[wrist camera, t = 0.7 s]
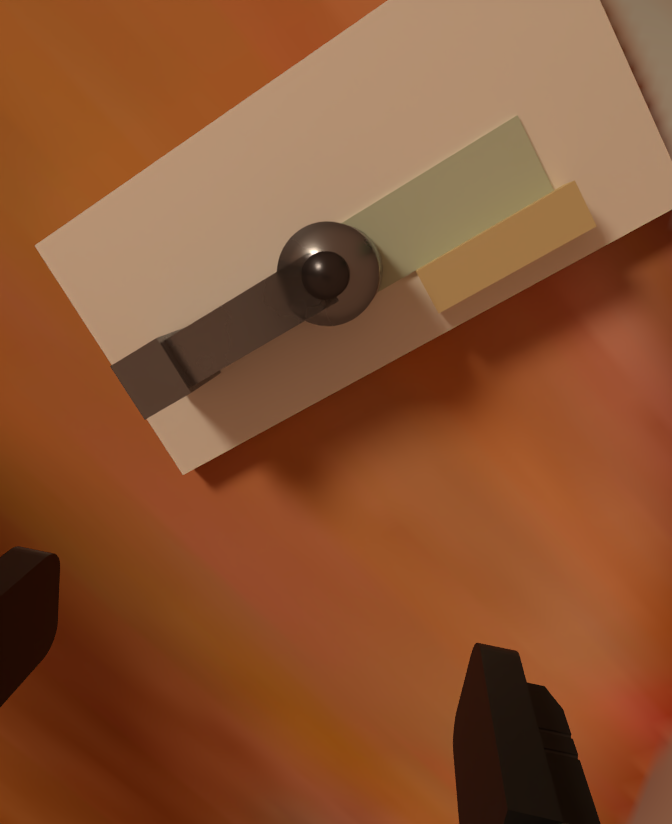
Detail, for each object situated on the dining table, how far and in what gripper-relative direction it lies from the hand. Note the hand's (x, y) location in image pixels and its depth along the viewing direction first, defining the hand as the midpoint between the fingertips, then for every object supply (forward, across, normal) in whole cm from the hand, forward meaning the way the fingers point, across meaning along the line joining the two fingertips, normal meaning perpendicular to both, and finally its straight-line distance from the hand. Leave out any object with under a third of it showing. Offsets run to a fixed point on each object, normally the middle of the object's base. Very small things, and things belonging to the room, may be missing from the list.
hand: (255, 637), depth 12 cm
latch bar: (+18, +4, -3) cm, 19 cm away
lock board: (+20, +2, -8) cm, 22 cm away
